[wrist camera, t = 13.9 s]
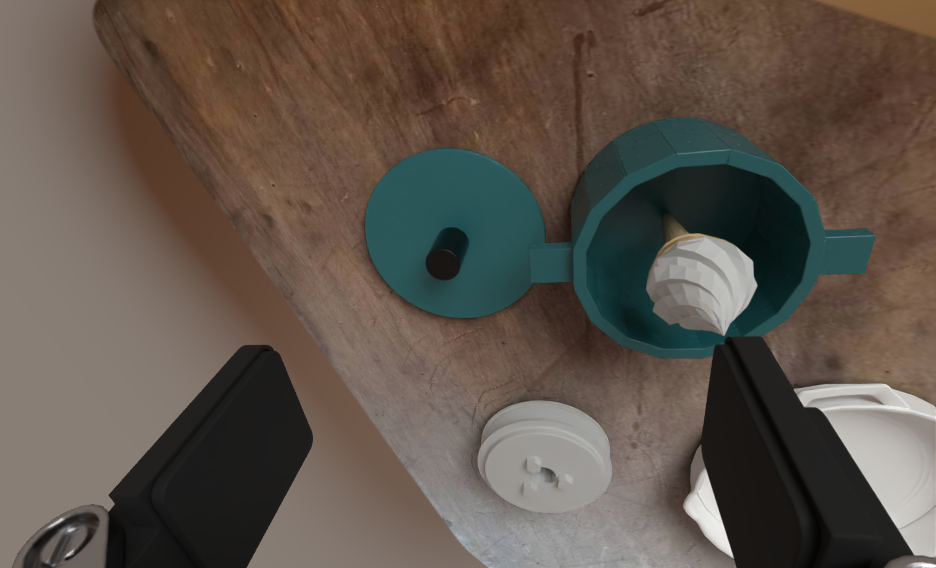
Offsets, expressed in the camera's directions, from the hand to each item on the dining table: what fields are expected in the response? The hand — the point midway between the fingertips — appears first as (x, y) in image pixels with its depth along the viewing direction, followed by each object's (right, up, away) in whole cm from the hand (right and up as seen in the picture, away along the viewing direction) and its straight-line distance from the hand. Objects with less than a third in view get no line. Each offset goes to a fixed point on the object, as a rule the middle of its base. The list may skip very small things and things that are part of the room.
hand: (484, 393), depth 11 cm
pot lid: (-1, +6, +28) cm, 29 cm away
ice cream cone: (+14, +7, +25) cm, 30 cm away
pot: (+14, +8, +25) cm, 30 cm away
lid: (+7, -13, +39) cm, 42 cm away
